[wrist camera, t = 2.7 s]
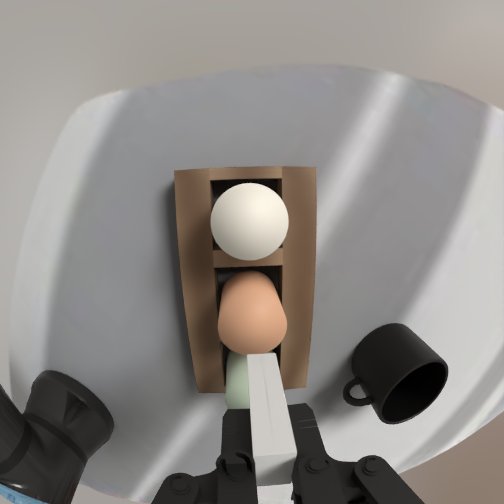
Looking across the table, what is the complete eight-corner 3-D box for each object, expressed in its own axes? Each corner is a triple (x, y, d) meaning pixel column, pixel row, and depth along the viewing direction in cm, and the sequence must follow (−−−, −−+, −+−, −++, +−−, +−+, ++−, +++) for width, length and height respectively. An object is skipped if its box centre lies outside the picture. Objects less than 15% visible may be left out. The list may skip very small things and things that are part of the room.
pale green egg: (228, 380, 27) (227, 419, 21) (225, 342, 26) (223, 380, 20) (274, 377, 27) (282, 416, 21) (275, 340, 26) (284, 377, 20)
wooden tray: (200, 376, 30) (198, 392, 27) (181, 172, 24) (174, 170, 21) (300, 371, 30) (305, 387, 27) (307, 169, 25) (316, 167, 22)
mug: (326, 346, 30) (353, 396, 21) (411, 310, 29) (453, 344, 21) (336, 397, 32) (357, 444, 23) (411, 364, 32) (443, 400, 23)
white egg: (218, 243, 24) (212, 261, 18) (216, 185, 22) (208, 184, 17) (276, 241, 24) (288, 258, 18) (275, 184, 23) (288, 182, 17)
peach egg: (223, 320, 25) (220, 356, 19) (220, 271, 24) (215, 297, 18) (275, 318, 26) (286, 353, 20) (276, 268, 24) (288, 294, 19)
